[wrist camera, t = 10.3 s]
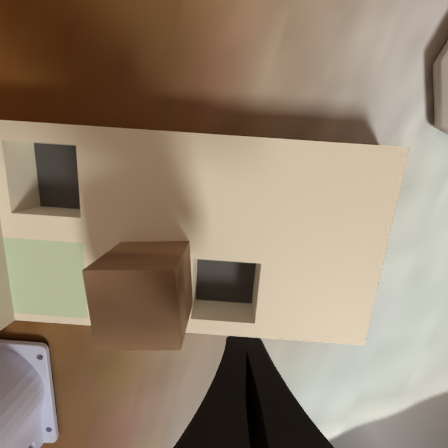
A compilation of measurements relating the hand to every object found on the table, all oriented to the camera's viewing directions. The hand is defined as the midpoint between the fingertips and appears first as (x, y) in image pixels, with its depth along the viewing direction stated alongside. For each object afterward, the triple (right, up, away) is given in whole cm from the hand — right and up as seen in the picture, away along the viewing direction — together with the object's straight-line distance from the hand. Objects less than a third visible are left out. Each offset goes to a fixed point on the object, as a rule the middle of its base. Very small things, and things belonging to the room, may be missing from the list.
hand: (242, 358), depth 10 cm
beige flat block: (-3, +5, +7) cm, 9 cm away
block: (-5, +2, +5) cm, 7 cm away
